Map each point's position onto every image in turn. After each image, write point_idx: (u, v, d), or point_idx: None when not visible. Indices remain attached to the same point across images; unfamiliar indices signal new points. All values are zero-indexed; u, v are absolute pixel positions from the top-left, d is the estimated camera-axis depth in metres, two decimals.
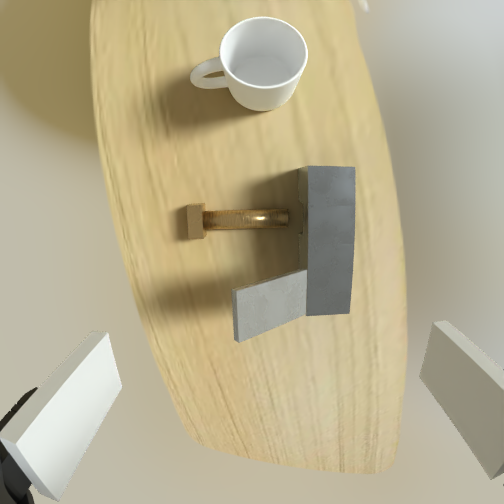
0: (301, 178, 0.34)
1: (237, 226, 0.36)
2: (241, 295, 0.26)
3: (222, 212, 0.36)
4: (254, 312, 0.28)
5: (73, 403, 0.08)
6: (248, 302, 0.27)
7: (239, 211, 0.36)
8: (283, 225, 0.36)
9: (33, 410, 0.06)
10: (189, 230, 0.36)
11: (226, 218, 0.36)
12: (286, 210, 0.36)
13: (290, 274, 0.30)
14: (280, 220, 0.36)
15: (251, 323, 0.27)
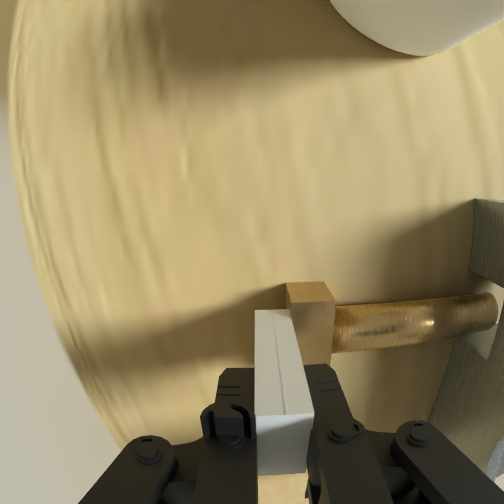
0: (503, 229, 0.11)
1: (406, 344, 0.13)
2: None
3: (379, 314, 0.13)
4: None
5: None
6: None
7: (415, 308, 0.13)
8: (484, 330, 0.13)
9: (271, 382, 0.08)
10: None
11: (391, 330, 0.12)
12: (492, 298, 0.13)
13: (494, 476, 0.07)
14: (485, 323, 0.12)
15: None
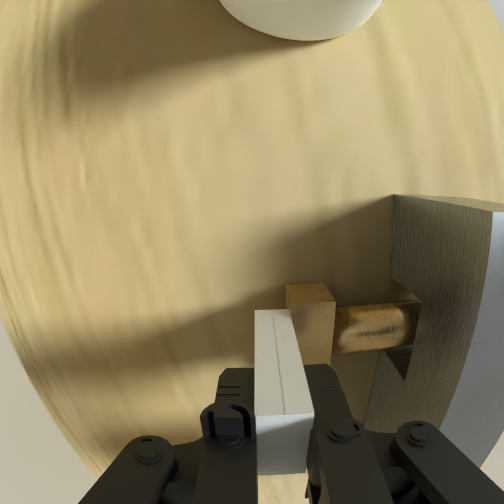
0: (419, 229, 0.11)
1: (406, 344, 0.13)
2: None
3: (379, 314, 0.13)
4: None
5: None
6: None
7: (415, 309, 0.13)
8: None
9: (271, 382, 0.08)
10: None
11: (391, 330, 0.12)
12: None
13: None
14: None
15: None
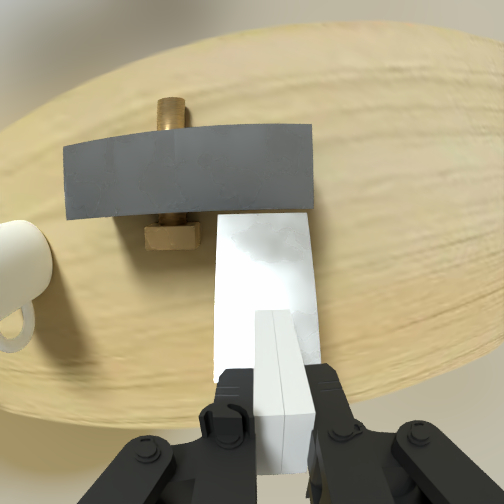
0: None
1: None
2: None
3: None
4: None
5: None
6: (244, 355, 0.14)
7: None
8: (178, 104, 0.21)
9: (270, 382, 0.08)
10: (182, 247, 0.23)
11: None
12: (158, 102, 0.21)
13: (216, 253, 0.16)
14: (169, 108, 0.21)
15: None
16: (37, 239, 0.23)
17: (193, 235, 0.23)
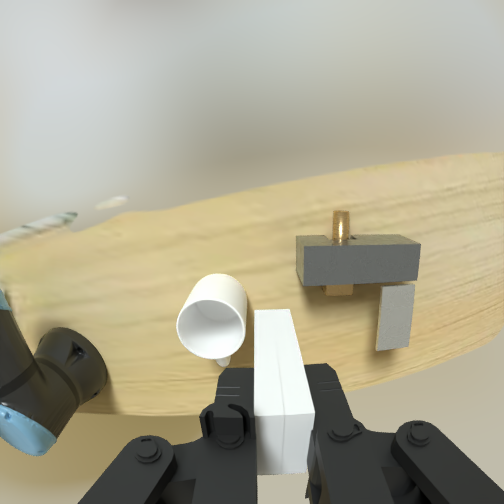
0: None
1: None
2: (380, 347, 0.38)
3: None
4: (394, 336, 0.38)
5: None
6: (387, 341, 0.38)
7: None
8: (348, 216, 0.40)
9: (270, 382, 0.08)
10: (345, 293, 0.42)
11: None
12: (335, 212, 0.41)
13: (381, 304, 0.37)
14: (344, 219, 0.40)
15: (400, 338, 0.38)
16: (242, 288, 0.43)
17: (352, 287, 0.42)
